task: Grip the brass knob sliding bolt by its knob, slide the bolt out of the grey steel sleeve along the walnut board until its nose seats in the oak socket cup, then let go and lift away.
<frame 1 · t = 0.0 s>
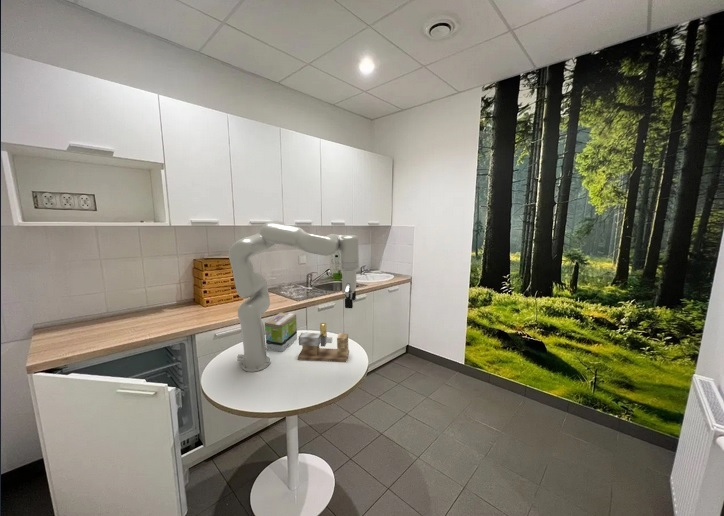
hand: (350, 303, 127), 31 cm above the table, fingers open, 9 cm apart
brass knob sliding bolt: (316, 333, 143), point 12 cm above the table, slide at 0.0 cm
socket block: (341, 356, 144), resting on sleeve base
tea box: (282, 344, 157), on the table
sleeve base: (311, 355, 146), on the table
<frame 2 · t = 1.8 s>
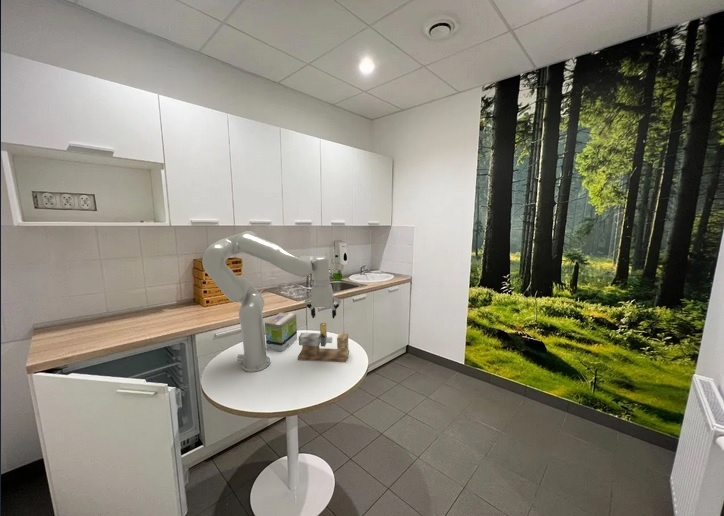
hand: (323, 317, 141), 20 cm above the table, fingers open, 9 cm apart
nothing on the table moved.
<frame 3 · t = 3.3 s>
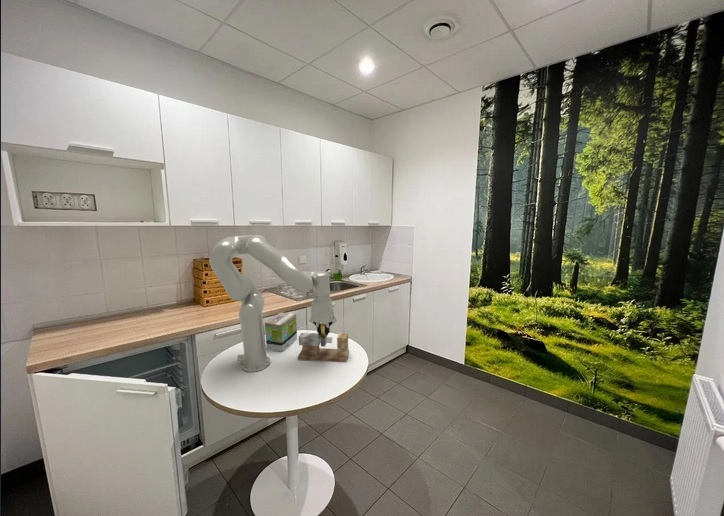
hand: (323, 333, 142), 12 cm above the table, fingers closed on brass knob sliding bolt, 3 cm apart
brass knob sliding bolt: (316, 333, 143), point 12 cm above the table, slide at 0.0 cm, touching gripper
everything else where it was.
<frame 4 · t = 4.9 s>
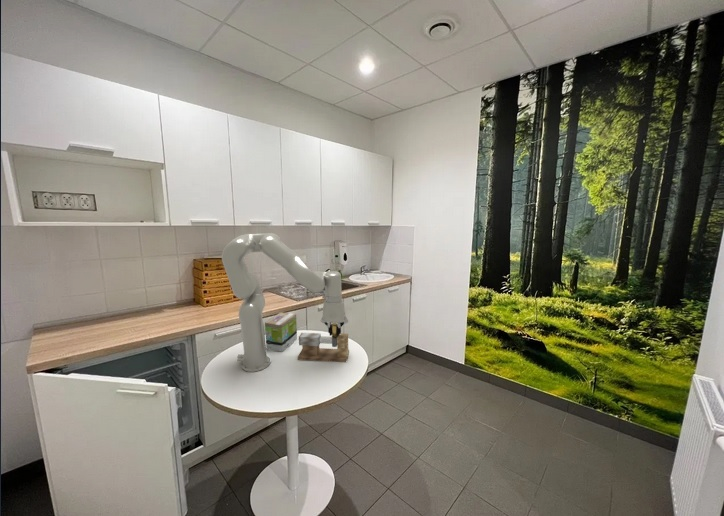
hand: (334, 334, 142), 12 cm above the table, fingers closed on brass knob sliding bolt, 3 cm apart
brass knob sliding bolt: (328, 334, 142), point 12 cm above the table, slide at 5.5 cm, touching gripper, socket block
everything else where it was.
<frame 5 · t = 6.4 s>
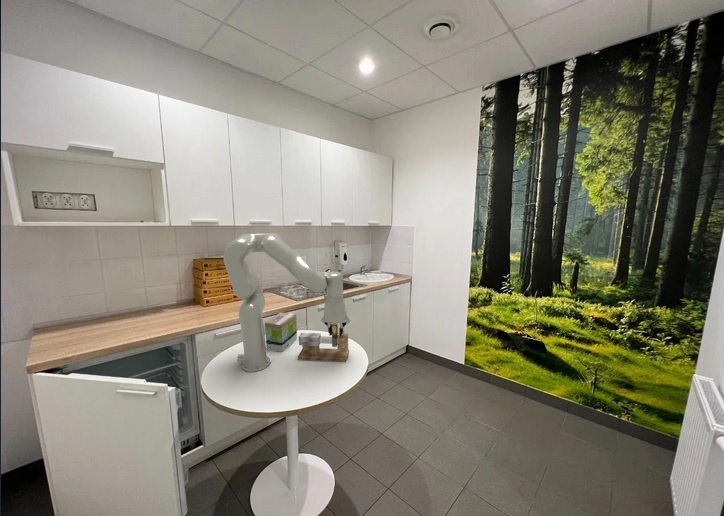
hand: (335, 334, 142), 12 cm above the table, fingers open, 4 cm apart
brass knob sliding bolt: (328, 334, 142), point 12 cm above the table, slide at 5.5 cm, touching gripper, socket block
everything else where it was.
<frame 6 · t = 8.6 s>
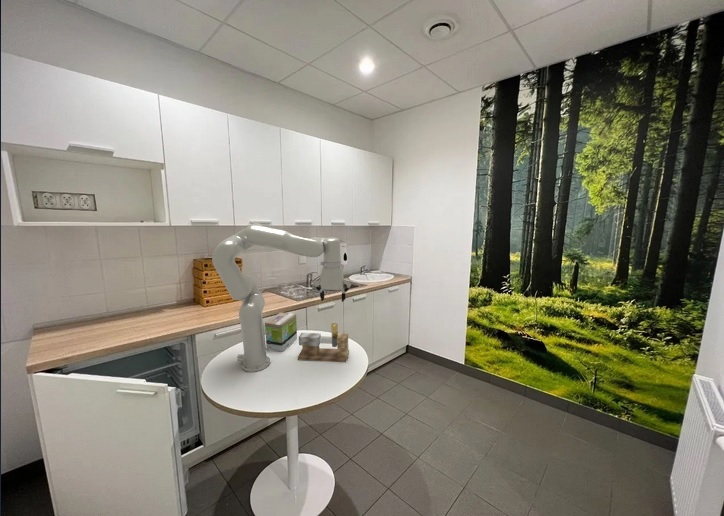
hand: (332, 300, 139), 29 cm above the table, fingers open, 9 cm apart
brass knob sliding bolt: (328, 334, 142), point 12 cm above the table, slide at 5.5 cm, touching socket block
everything else where it was.
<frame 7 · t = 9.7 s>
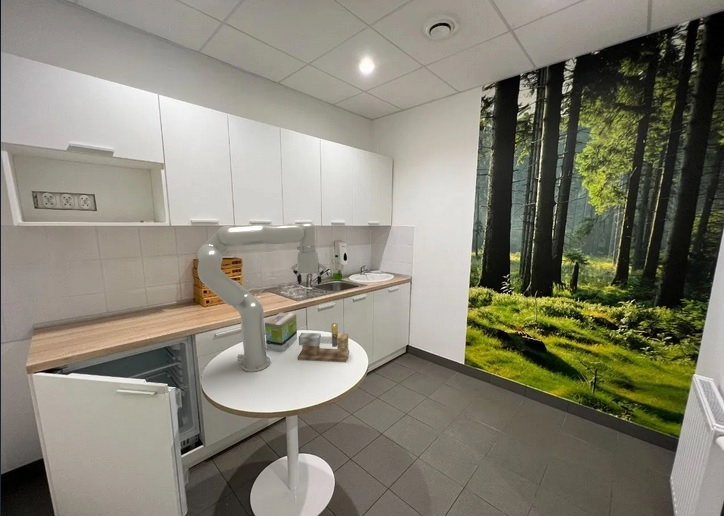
hand: (309, 283, 146), 34 cm above the table, fingers open, 9 cm apart
nothing on the table moved.
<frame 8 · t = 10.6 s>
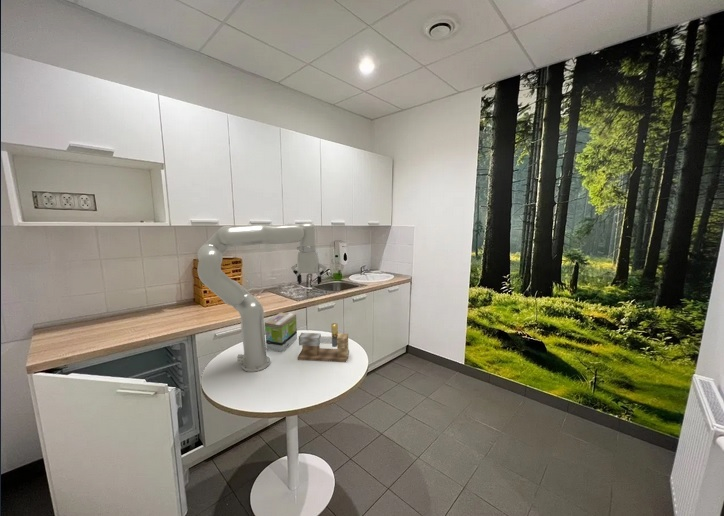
hand: (309, 283, 146), 34 cm above the table, fingers open, 9 cm apart
nothing on the table moved.
at the end: brass knob sliding bolt slide at 5.5 cm; the gripper is holding nothing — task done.
